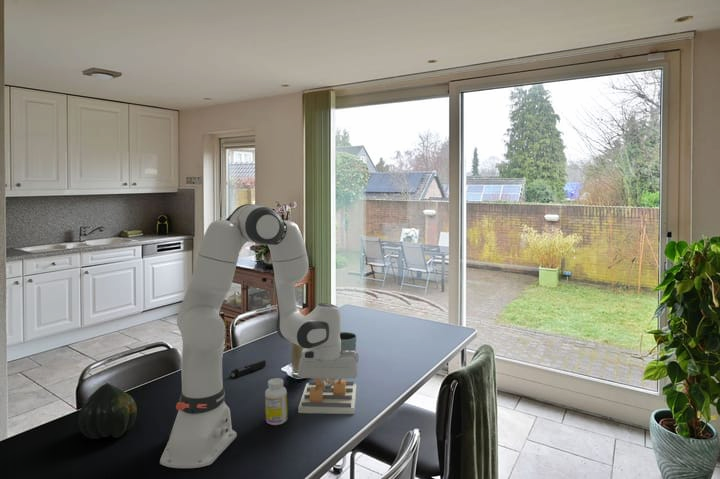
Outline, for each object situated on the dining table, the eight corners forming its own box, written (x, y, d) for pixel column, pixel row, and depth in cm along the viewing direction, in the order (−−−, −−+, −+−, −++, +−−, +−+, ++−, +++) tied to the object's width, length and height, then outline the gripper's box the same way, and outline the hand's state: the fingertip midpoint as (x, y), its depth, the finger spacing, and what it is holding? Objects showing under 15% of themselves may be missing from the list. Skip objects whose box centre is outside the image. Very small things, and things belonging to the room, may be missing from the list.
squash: (106, 435, 122) (127, 380, 131) (58, 432, 125) (82, 378, 134) (135, 446, 134) (152, 395, 142) (90, 443, 136) (110, 393, 145)
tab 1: (327, 389, 158) (327, 375, 158) (315, 389, 159) (315, 375, 158) (328, 385, 161) (328, 372, 161) (317, 385, 162) (316, 371, 161)
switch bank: (354, 414, 145) (354, 404, 145) (298, 412, 146) (298, 403, 146) (356, 389, 163) (356, 380, 163) (306, 388, 164) (306, 380, 164)
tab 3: (345, 396, 153) (345, 382, 152) (333, 396, 153) (333, 382, 152) (345, 393, 156) (345, 378, 155) (334, 392, 156) (334, 378, 155)
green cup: (360, 366, 185) (360, 338, 183) (336, 370, 181) (336, 341, 180) (351, 358, 194) (351, 330, 193) (328, 361, 190) (328, 333, 189)
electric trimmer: (268, 368, 183) (267, 361, 183) (234, 380, 172) (234, 371, 172) (262, 366, 186) (262, 358, 186) (229, 377, 174) (229, 369, 174)
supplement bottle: (277, 413, 146) (277, 374, 145) (291, 419, 142) (291, 380, 140) (261, 421, 141) (260, 381, 139) (275, 428, 137) (274, 387, 135)
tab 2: (322, 404, 148) (321, 389, 147) (309, 404, 148) (309, 389, 147) (323, 400, 151) (322, 385, 150) (311, 399, 151) (311, 385, 150)
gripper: (358, 347, 156) (358, 386, 157) (299, 346, 156) (300, 385, 158) (358, 354, 150) (358, 394, 151) (296, 353, 150) (297, 393, 152)
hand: (327, 389), depth 154 cm, fingers closed
